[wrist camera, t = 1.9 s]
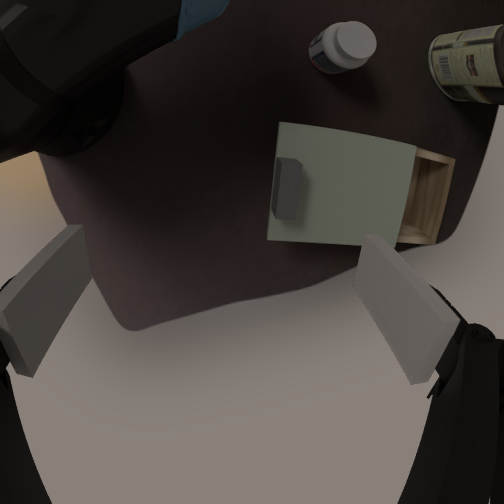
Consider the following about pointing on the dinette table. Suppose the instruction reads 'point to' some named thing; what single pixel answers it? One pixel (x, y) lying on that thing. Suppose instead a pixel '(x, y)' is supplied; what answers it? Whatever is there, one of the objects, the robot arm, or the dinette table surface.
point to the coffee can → (470, 64)
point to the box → (426, 197)
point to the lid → (337, 186)
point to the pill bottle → (342, 47)
